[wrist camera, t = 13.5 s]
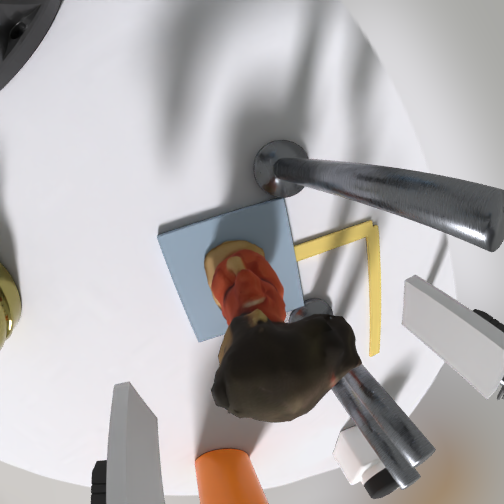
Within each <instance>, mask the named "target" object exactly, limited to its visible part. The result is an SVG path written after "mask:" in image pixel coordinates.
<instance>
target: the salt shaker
mask: <svg viewBox="0 0 504 504" xmlns="http://www.w3.org/2000/svg"><path fill="white" fill-rule="evenodd" d="M20 316H21V301H20V296H19V293H18V290H17V287H16V285H15V282H14V280H13V279H12V277H11V275H10V274H9V272H8V271H7V270H6V268H5V267H4V266H3V265H2V264H1V263H0V351H1V349H2V347H3V345H4V342H5V341H6V340H7V339H8V338H9V337H10V335H11V334H12V331H13V330H14V328H15V327H16V325H17V324H18V322H19V320H20Z"/></svg>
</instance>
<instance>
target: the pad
mask: <svg viewBox="0 0 504 504" xmlns="http://www.w3.org/2000/svg"><path fill="white" fill-rule="evenodd" d="M157 239H158V242H159V245H160V247H161V250H162V253H163V256H164V258H165V261H166V264H167V266H168V269H169V272H170V274H171V277H172V279H173V282H174V285H175V287H176V290H177V292H178V295H179V297H180V300H181V302H182V304H183V307H184V309H185V312H186V314H187V316H188V319H189V321H190V323H191V326H192V328H193V330H194V333H195V335H196V337H197V339H198V342H202V341H205V340H208V339H211V338H215V337H218V336H221V335H224V334H225V333H226V330H227V328H228V324H227V320H226V319H225V318H224V317H223V315H222V311H221V310H220V309H219V307H218V305H217V304H216V303H215V301H214V298H213V296H212V292H211V289H210V287H209V285H208V281H207V276H206V273H205V269H204V260H205V256H206V254H207V253H208V252H209V251H210V250H211V249H212V248H215V247H217V246H218V245H220V244H222V243H223V242H226V241H234V240H245V241H248V242H250V243H252V244H255V245H257V246H258V247H260V248H262V249H263V251H264V253H265V259H266V260H267V261H268V263H269V264H270V266H271V267H272V268H273V270H274V271H275V272H276V274H277V276H278V278H279V280H280V282H281V284H282V286H283V288H284V295H283V300H284V302H285V305H286V306H285V311H286V312H289V311H292V310H294V309H297V308H299V307H302V306H304V301H303V295H302V289H301V284H300V278H299V273H298V268H297V262H296V257H295V252H294V247H293V241H292V236H291V231H290V226H289V222H288V217H287V212H286V207H285V202H284V198H281V197H280V198H276V199H273V200H269V201H266V202H262V203H259V204H255V205H252V206H248V207H245V208H242V209H238V210H235V211H232V212H228V213H225V214H222V215H219V216H215V217H212V218H209V219H206V220H203V221H199V222H196V223H193V224H190V225H187V226H184V227H181V228H178V229H175V230H172V231H169V232H166V233H163V234H160V235H157Z"/></svg>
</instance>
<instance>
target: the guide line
mask: <svg viewBox="0 0 504 504" xmlns="http://www.w3.org/2000/svg"><path fill="white" fill-rule="evenodd" d="M364 237H366V241H367V255H368V271H369V296H370V351H369V356H370V357H372V356H374V355H376V354H377V353H379V350H380V329H381V268H380V246H379V231H378V226H377V225H374V226H373V224H372V221H371V220H369V221H366V222H363V223H360V224H358V225H355V226H352V227H349V228H346V229H343V230H340V231H337V232H334V233H331V234H328V235H325V236H322V237H319V238H316V239H313V240H310V241H307V242H304V243H301V244H298V245H295V246H293V247H294V252H295V257H296V262H297V261H300V260H303V259H306V258H309V257H312V256H314V255H317V254H320V253H323V252H326V251H329V250H331V249H334V248H337V247H340V246H342V245H345V244H348V243H351V242H354V241H356V240H359V239H362V238H364Z"/></svg>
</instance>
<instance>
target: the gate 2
mask: <svg viewBox="0 0 504 504" xmlns="http://www.w3.org/2000/svg"><path fill="white" fill-rule="evenodd" d="M500 385H502V386H503V385H504V382H503V381H501V383H500ZM331 389H332V391H333V392H334V394H335V395H336V397H337V398H338V400H339V401H340V402H341V404H342V405H343V407H344V408H345V410H346V411H347V413H348V414H349V416H350V417H351V418H352V420H353V421H354V423H355V424H356V426H357V427H358V428H359V430H360V431H361V433H362V434H363V436H364V437H365V439H366V440H367V441H368V443H369V444H370V446H371V447H372V449H373V450H374V451H375V453H376V454H377V456H378V457H379V459H380V460H381V461H382V463H383V464H384V466H385V467H386V468H387V470H388V471H389V473H390V474H391V476H392V477H393V478H394V480H395V481H396V483H397V484H398V485H399V487H400V488H401V490H403V489H406V488H407V487H409V486H410V485H412V484H413V483H414V482H416V481H417V480H418V479H419V478H420V477H421V476H420V474H419V473H418V472H417V471H416V469H415V468H412V467H411V466H410V465H409V463H408V462H407V461H406V460H405V458H404V457H403V456H402V454H401V453H400V452H399V450H398V449H397V448H396V446H395V445H394V444H393V443H392V441H391V440H390V439H389V437H388V436H387V435H386V433H385V432H384V431H383V429H382V428H381V427H380V426H379V424H378V423H377V422H376V420H375V419H374V418H373V416H372V415H371V414H370V412H369V411H368V410H367V408H366V407H365V406H364V405H363V403H362V402H361V401H360V399H359V398H358V397H357V395H356V394H355V393H354V391H353V390H352V389H351V387H350V386H349V385H348V384H347V382H346V381H345V380H344V378H342V379H341V380H340V381H339V382H338V383H337V384H336V385H335V386H334V387H333V388H331Z"/></svg>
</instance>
